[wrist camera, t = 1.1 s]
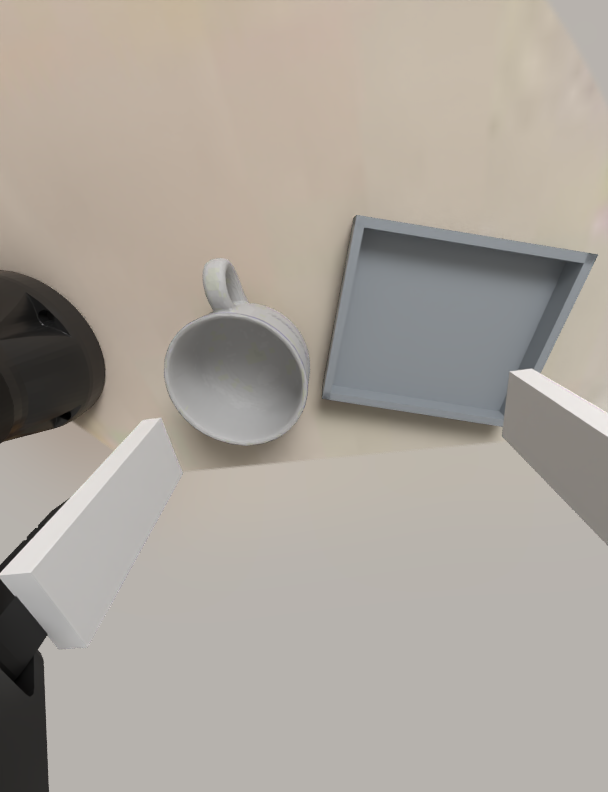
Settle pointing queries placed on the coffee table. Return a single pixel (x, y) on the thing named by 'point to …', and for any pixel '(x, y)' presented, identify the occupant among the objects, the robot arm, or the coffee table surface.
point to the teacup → (237, 365)
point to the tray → (445, 318)
